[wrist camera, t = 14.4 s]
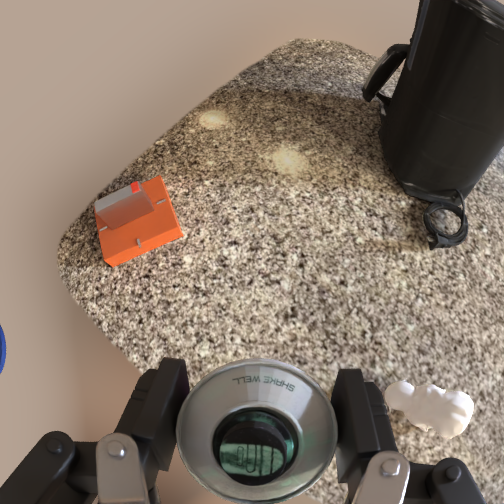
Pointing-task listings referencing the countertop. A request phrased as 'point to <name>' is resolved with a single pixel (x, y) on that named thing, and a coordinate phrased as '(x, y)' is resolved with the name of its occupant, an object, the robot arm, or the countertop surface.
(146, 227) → the orange flat block
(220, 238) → the countertop surface
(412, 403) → the white lumpy figure
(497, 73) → the coffee maker
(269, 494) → the spray can
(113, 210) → the gray slab
